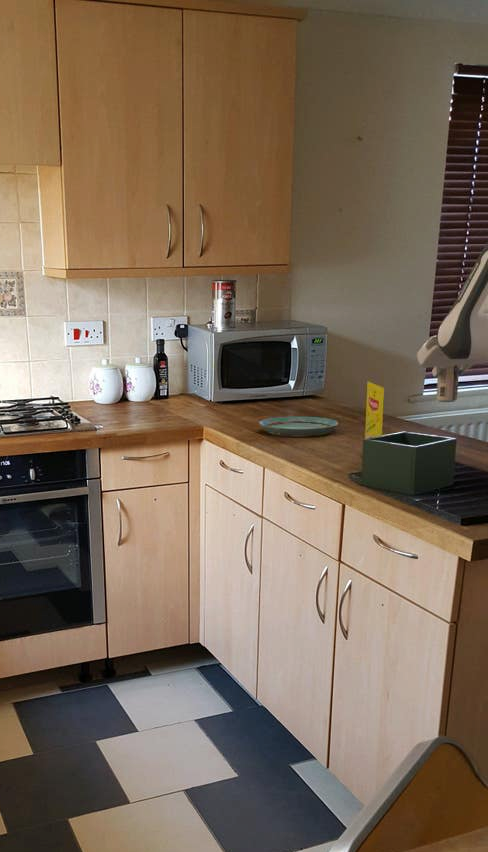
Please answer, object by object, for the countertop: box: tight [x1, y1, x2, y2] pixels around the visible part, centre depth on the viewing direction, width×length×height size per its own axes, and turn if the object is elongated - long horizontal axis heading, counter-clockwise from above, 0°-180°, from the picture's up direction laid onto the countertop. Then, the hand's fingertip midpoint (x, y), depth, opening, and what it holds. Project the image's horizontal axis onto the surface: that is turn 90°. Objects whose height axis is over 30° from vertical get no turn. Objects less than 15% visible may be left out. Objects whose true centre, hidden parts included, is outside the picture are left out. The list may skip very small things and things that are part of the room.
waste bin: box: [360, 430, 458, 496], centre depth 199 cm, size 15×15×11 cm
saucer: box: [259, 416, 339, 438], centre depth 274 cm, size 24×24×3 cm
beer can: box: [436, 365, 460, 403], centre depth 211 cm, size 5×5×12 cm
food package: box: [364, 381, 385, 439], centre depth 223 cm, size 15×1×20 cm, turn 2°
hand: (446, 373), depth 211 cm, fingers closed on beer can, 5 cm apart
